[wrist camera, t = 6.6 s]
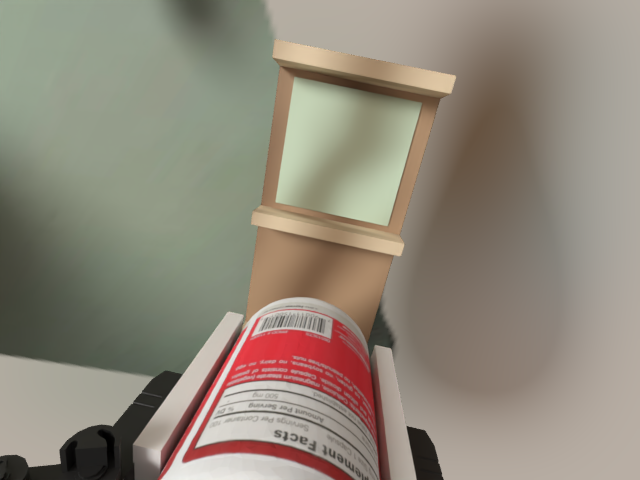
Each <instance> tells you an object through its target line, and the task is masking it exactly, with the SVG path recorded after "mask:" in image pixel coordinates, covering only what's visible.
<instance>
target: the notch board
mask: <svg viewBox="0 0 640 480" xmlns="http://www.w3.org/2000/svg"><path fill="white" fill-rule="evenodd" d="M272 58H273V59H274V60H275V61H276V62H277V63H278V64H279V65H280V70H279V78H278V85H277V92H276V100H275V107H274V114H273V122H272V129H271V136H270V144H269V151H268V158H267V165H266V173H265V180H264V187H263V195H262V202H261V206H259V207H258V208H257V209H255V210H254V211H253V213H252V221H251V224H252V225H257V226H258V231H257V239H256V246H255V253H254V261H253V268H252V275H251V283H250V290H249V297H248V305H247V312H246V319H245V323H244V324H243V326H242V330H243V328H244V327H245V325H246V324H247V323H248V321H249V320H250V319H251V317H252V316H253V315H254V314H255V313H257V312H258V311H259V310H260V309H262V308H264V307H265V306H267V305H269V304H271V303H273V302H275V301H278V300H282V299H286V298H294V297H307V298H314V299H319V300H322V301H325V302H327V303H330V304H332V305H334V306H336V307H337V308H339V309H341V310H342V311H343V312H345V313H346V314H347V315H348V316H349V317H351V319H352V320H353V321H354V322H355V323H356V324H357V326H358V327H359V328H360V330H361V332H362V334H363V336H364V338H365V340H366V343H368V340H369V337H370V333H371V330H372V327H373V323H374V320H375V316H376V313H377V310H378V306H379V303H380V300H381V296H382V293H383V290H384V286H385V283H386V279H387V276H388V273H389V269H390V266H391V263H392V259H393V256H394V255H395V256H400V257H401V255H402V251H403V248H404V242H403V240H402V238H401V236H400V232H401V229H402V225H403V222H404V219H405V216H406V212H407V209H408V206H409V202H410V199H411V195H412V192H413V189H414V185H415V182H416V178H417V175H418V172H419V169H420V165H421V162H422V159H423V155H424V152H425V148H426V145H427V141H428V138H429V135H430V132H431V128H432V125H433V121H434V118H435V115H436V111H437V108H438V105H439V101H440V99H441V98H443V97H445V96H447V95H449V94H451V91H452V88H453V85H454V82H455V78H456V76H454V75H449V74H444V73H439V72H434V71H429V70H424V69H419V68H415V67H410V66H405V65H399V64H395V63H390V62H385V61H380V60H375V59H370V58H365V57H360V56H355V55H350V54H345V53H340V52H335V51H331V50H326V49H321V48H315V47H311V46H306V45H301V44H296V43H291V42H286V41H281V40H276V39H275V41H274V49H273V57H272Z"/></svg>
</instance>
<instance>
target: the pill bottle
mask: <svg viewBox="0 0 640 480" xmlns="http://www.w3.org/2000/svg"><path fill="white" fill-rule="evenodd" d="M157 480H381V474H380V464H379V453H378V443H377V432H376V420H375V409H374V398H373V389H372V378H371V368H370V358H369V352H368V347H367V343H366V340H365V338H364V336H363V334H362V332H361V330H360V328H359V327H358V326H357V324H356V323H355V322H354V321H353V320H352V319H351V317H349V316H348V315H347V314H346V313H345V312H343V311H342V310H341V309H339V308H337V307H336V306H334V305H332V304H330V303H327V302H325V301H322V300H319V299H314V298H307V297H294V298H286V299H282V300H278V301H275V302H273V303H271V304H269V305H267V306H265V307H264V308H262V309H260V310H259V311H258V312H257V313H255V314H254V315H253V316H252V317H251V319H250V320H249V321H248V323H247V324H246V325H245V327H244V328H243V330H242V332H241V333H240V335H239V337H238V339H237V340H236V342H235V344H234V346H233V348H232V350H231V351H230V353H229V355H228V356H227V358H226V360H225V362H224V364H223V365H222V367H221V369H220V371H219V372H218V374H217V376H216V378H215V379H214V381H213V383H212V385H211V387H210V388H209V390H208V392H207V394H206V395H205V397H204V399H203V401H202V403H201V404H200V406H199V408H198V410H197V411H196V413H195V415H194V417H193V418H192V420H191V422H190V424H189V425H188V427H187V429H186V430H185V432H184V434H183V436H182V438H181V439H180V441H179V442H178V444H177V446H176V448H175V450H174V451H173V453H172V455H171V457H170V458H169V460H168V462H167V464H166V465H165V467H164V469H163V471H162V472H161V474H160V476H159V478H158V479H157Z"/></svg>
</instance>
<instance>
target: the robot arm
mask: <svg viewBox="0 0 640 480" xmlns="http://www.w3.org/2000/svg"><path fill="white" fill-rule="evenodd" d="M243 319H244V315H241V314H237V313H233V312H227V314H226V315H225V317H224V318H223V319H222V321H221V322H220V324H219V325H218V326H217V328H216V329H215V331H214V332H213V333H212V335H211V336H210V338H209V339H208V340H207V342H206V343H205V345H204V346H203V347H202V349H201V350H200V352H199V353H198V354H197V356H196V357H195V359H194V360H193V361H192V363H191V364H190V365H189V367H188V368H187V370H186V371H185V372H184V374H178V373H174V372H170V371H164V372H163V373H161V374H160V375H158V376H157V377H155V378H153V379H152V380H151V381H150V382H149V384H148V385H147V386H146V387H145V389H144V390H143V391H142V393H141V394H140V395H139V396H138V397H137V398H136V399H135V400H134V402H133V404H131V405H130V406H129V408H128V409H127V410H126V411H125V413H124V414H123V415H122V416H121V417H120V419H119V420H118V421H117V422H116V423H115V424H114V426H113V427H112V426H109V425H97V426H91V427H88V428H87V429H84V430H82V431H80V432H78V433H76V434H75V435H74V436H72V437H71V438H70V439H68V440H67V441H66V442H65V444H64V445H63V446H62V448H61V449H60V459H61V464H57V465H48V466H38V467H28V465H27V462H26V460H25V458H23V457H20V456H18V455H5V456H1V457H0V480H157V479H158V478H159V476H160V474H161V472H162V471H163V469H164V467H165V465H166V464H167V462H168V460H169V458H170V457H171V455H172V453H173V451H174V450H175V448H176V446H177V444H178V442H179V441H180V439H181V438H182V436H183V434H184V432H185V430H186V429H187V427H188V425H189V424H190V422H191V420H192V418H193V417H194V415H195V413H196V411H197V410H198V408H199V406H200V404H201V403H202V401H203V399H204V397H205V395H206V394H207V392H208V390H209V388H210V387H211V385H212V383H213V381H214V379H215V378H216V376H217V374H218V372H219V371H220V369H221V367H222V365H223V364H224V362H225V360H226V358H227V356H228V355H229V353H230V351H231V350H232V348H233V346H234V344H235V342H236V340H237V339H238V337H239V335H240V333H241V332H242V326H243ZM370 368H371V378H372V389H373V398H374V409H375V420H376V432H377V443H378V453H379V464H380V474H381V480H444V479H443V477H442V472H441V469H440V465H439V464H438V457H437V454H436V450H435V446H434V444H433V443H432V441H431V439H430V438H429V436H428V435H427V433H426V431H425V430H421V429H416V428H412V427H408V426H406V423H405V417H404V412H403V407H402V402H401V397H400V391H399V386H398V381H397V376H396V371H395V367H394V361H393V356H392V350H391V348H386V347H382V346H378V345H375V346H374V349H373V353H372V356H371V359H370Z"/></svg>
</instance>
